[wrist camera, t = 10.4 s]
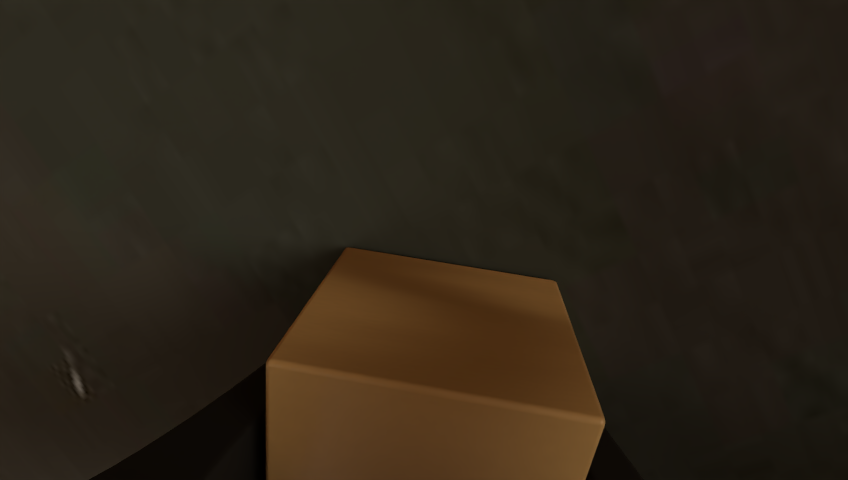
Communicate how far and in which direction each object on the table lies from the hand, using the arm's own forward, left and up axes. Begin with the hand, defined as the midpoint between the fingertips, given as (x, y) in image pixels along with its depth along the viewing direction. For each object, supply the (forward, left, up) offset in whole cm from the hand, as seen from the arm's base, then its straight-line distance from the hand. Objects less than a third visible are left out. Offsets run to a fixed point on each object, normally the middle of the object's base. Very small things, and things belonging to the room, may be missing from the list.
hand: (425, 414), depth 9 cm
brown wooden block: (0, 0, -1) cm, 1 cm away
